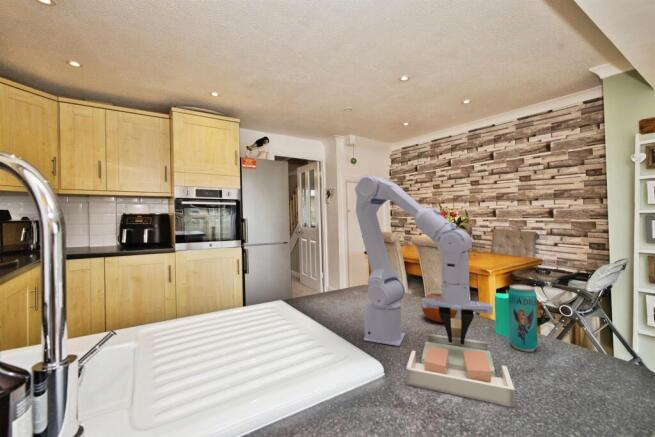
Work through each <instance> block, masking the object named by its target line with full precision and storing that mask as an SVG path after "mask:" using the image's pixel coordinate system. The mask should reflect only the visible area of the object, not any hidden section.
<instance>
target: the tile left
mask: <svg viewBox="0 0 655 437" xmlns="http://www.w3.org/2000/svg"><path fill="white" fill-rule="evenodd" d="M448 361H449V350H447V349H443V348H439V347H434V346H430V345H429V347H428V350H427V354H426V357H425V361H424V365H425V371H430V372H435V373H440V374H446V372H447V366H448Z"/></svg>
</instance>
